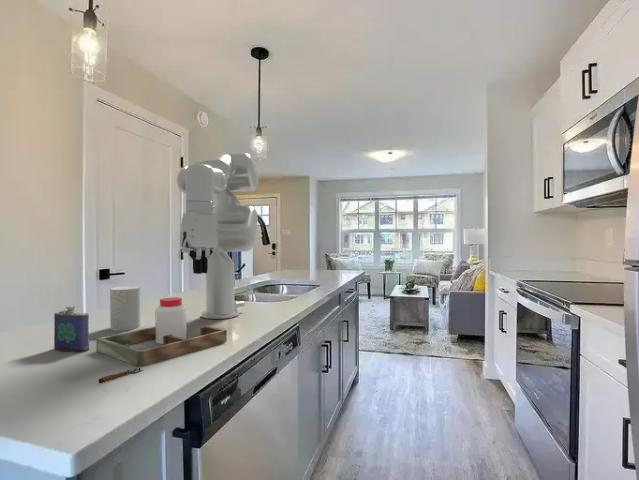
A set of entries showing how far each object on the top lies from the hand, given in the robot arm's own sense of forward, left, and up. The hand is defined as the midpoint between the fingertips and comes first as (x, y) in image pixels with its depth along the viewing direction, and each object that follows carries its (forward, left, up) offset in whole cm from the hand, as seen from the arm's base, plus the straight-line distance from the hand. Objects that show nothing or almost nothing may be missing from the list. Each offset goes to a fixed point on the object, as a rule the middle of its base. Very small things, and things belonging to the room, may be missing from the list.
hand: (200, 272), depth 113 cm
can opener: (+31, +16, -18) cm, 39 cm away
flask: (+29, -12, -17) cm, 36 cm away
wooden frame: (+14, +4, -17) cm, 22 cm away
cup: (+9, -24, -17) cm, 31 cm away
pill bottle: (+10, 0, -17) cm, 20 cm away
